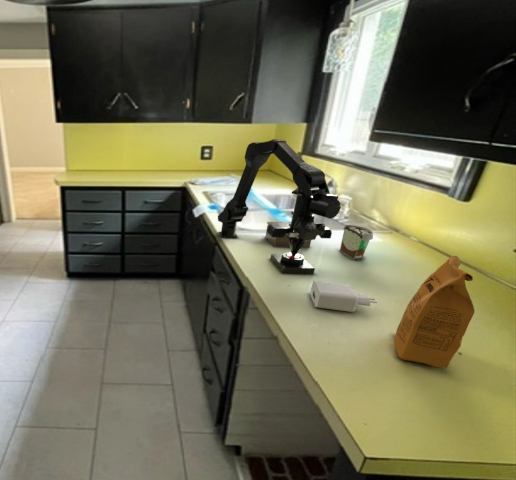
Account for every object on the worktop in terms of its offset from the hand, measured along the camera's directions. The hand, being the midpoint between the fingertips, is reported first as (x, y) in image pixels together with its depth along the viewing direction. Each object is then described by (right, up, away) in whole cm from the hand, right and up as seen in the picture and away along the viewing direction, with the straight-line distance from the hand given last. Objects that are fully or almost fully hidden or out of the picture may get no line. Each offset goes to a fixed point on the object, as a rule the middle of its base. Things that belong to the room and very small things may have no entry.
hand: (293, 255), depth 123 cm
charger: (+3, -15, -22) cm, 27 cm away
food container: (+29, 0, +11) cm, 31 cm away
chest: (+9, +7, +24) cm, 27 cm away
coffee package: (+8, -24, -41) cm, 48 cm away
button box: (0, -4, +2) cm, 4 cm away
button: (0, -2, +1) cm, 2 cm away
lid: (+9, +12, +22) cm, 27 cm away
